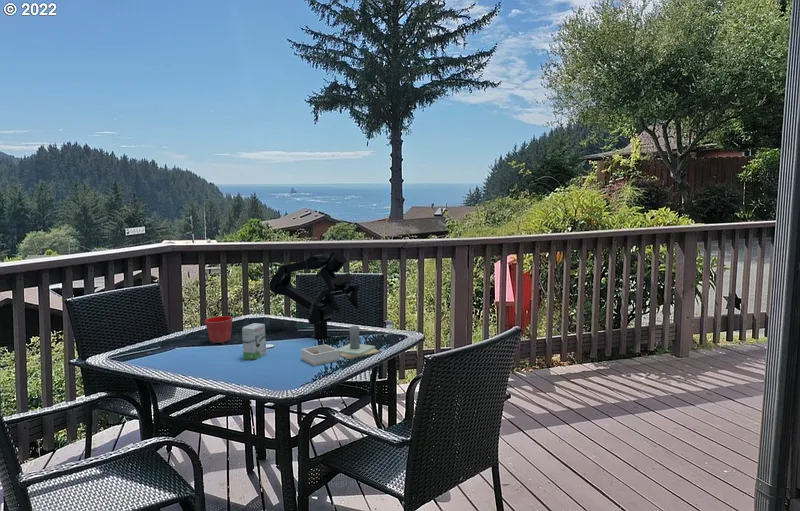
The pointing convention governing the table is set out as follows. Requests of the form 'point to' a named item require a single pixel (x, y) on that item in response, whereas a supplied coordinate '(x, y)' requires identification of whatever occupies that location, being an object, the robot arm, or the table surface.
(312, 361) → the storage box
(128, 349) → the table surface
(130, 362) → the table surface
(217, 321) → the flower pot
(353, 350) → the lid
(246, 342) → the ink box
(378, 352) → the tan wooden square board
